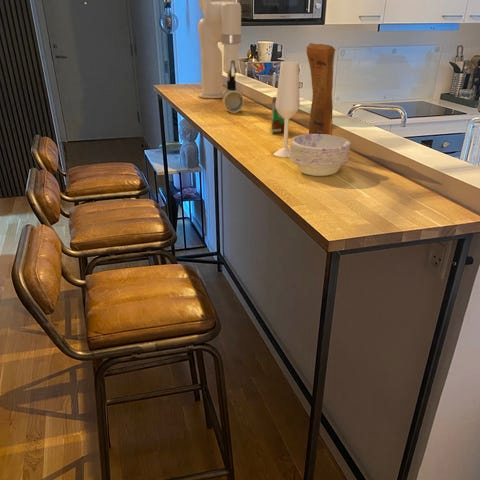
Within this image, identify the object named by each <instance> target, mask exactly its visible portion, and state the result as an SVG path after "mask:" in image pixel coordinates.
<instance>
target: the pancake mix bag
mask: <svg viewBox="0 0 480 480" xmlns="http://www.w3.org/2000/svg"><path fill="white" fill-rule="evenodd" d="M335 54H336V48H335V47H334V46H333V45H329V44H324V43H312V42H310V43H308V45H307V46H306V57H307V60H308V65H309V70H310V79H311V88H312V98H311V105H310V113H309V125H308V134H327V135H333V110H334V109H333V108H334V107H333V106H334V105H333V89H334V64H335Z"/></svg>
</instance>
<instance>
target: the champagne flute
mask: <svg viewBox="0 0 480 480" xmlns="http://www.w3.org/2000/svg"><path fill="white" fill-rule="evenodd" d="M275 97H276V105H275V107H276V110H277V111H278V113H279V114H280V115H281V116H282V117H283V118H284V119H285V124H284V133H283V147H282V148H280V149H278V150H276V151H275V152H273V155H274V156H275V157H280V158H290V147H288V143H289V141H288V140H289V124H290V119H292V118H293V117H294V116H295V115H296V114H297V113H298V111H299V109H300V106H301V105H300V62H299V61H293V60H292V61H291V60H284V61H281V62H280V67H279V75H278V83H277V90H276V96H275Z"/></svg>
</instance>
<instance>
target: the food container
mask: <svg viewBox="0 0 480 480" xmlns="http://www.w3.org/2000/svg"><path fill="white" fill-rule="evenodd" d="M276 97H277V96H272V102H271V103H272V105H271V107H272V108H271V132H272V133H271V134H272V135H281V134H284V124H285V119H284V118H283V117H282V116H281V115H280V114H279V113H278V111H277V110H276V107H275V105H276Z"/></svg>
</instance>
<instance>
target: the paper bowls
mask: <svg viewBox="0 0 480 480" xmlns="http://www.w3.org/2000/svg"><path fill="white" fill-rule="evenodd" d="M289 144H290V145H289V149H290V157H289V161H290V162H291V163H294V164H295V165H296V167H297V170H298V171H299V172H301V173H302V174H305V175H307V176H312V177H313V176H314V177H327V176H333V175H334V174H337V172H338V171H339V170H340V168H341V166H344V165H346V164H347V163H348V162H349V159H350V158H349V157H350V152H351V141H350V140H349V139H347V138H345V137H342V136H339V135H334V134H332V135H327V134H309V133H307V134H300V135H296V136H294V137H292V138H291V140H290V143H289Z"/></svg>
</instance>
